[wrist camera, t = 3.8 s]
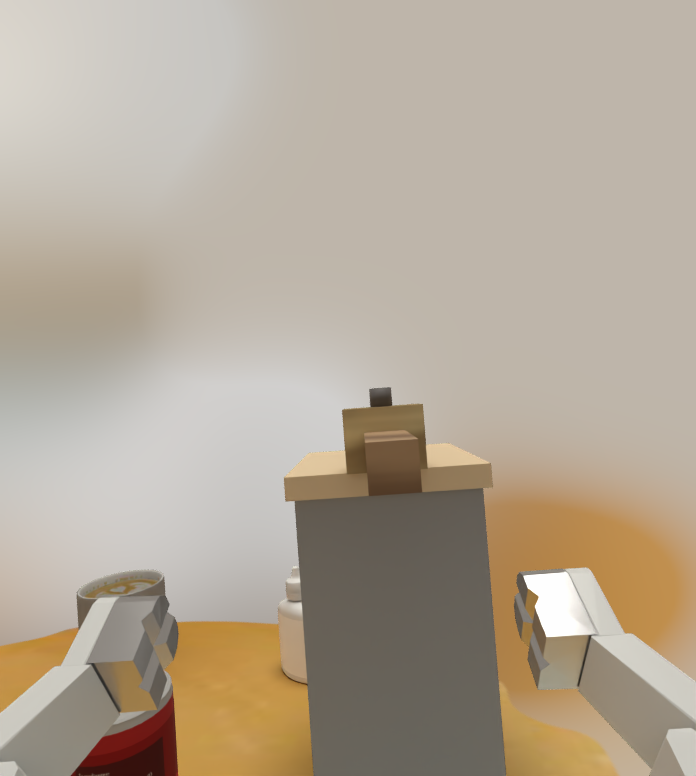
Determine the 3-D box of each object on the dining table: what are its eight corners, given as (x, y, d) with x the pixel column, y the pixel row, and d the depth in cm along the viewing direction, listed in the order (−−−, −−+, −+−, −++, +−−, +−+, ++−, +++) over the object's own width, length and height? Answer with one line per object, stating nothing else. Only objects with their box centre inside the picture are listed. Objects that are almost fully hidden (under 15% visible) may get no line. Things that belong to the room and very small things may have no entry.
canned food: (130, 794, 40) (122, 657, 41) (205, 824, 37) (196, 674, 37) (35, 878, 34) (26, 712, 34) (117, 925, 30) (106, 740, 30)
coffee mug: (102, 649, 67) (97, 573, 67) (178, 640, 67) (173, 566, 68) (49, 710, 53) (44, 615, 54) (145, 699, 54) (139, 606, 54)
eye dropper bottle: (287, 690, 54) (279, 578, 54) (280, 665, 59) (273, 563, 59) (326, 681, 55) (318, 571, 55) (316, 657, 60) (309, 557, 61)
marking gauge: (449, 490, 23) (440, 379, 23) (342, 498, 23) (334, 387, 23) (409, 449, 43) (404, 389, 43) (350, 453, 43) (346, 393, 43)
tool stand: (525, 890, 30) (490, 463, 31) (313, 900, 31) (283, 477, 31) (471, 728, 45) (448, 443, 46) (329, 736, 46) (308, 452, 46)
